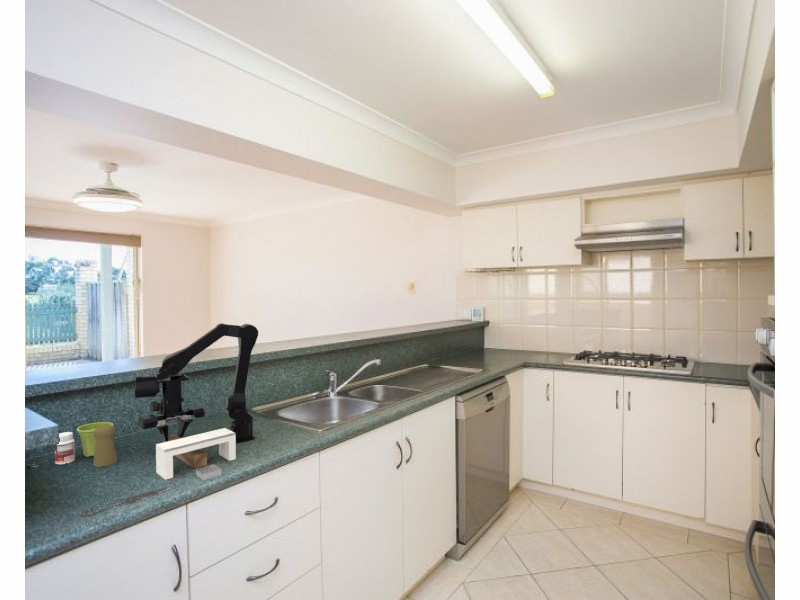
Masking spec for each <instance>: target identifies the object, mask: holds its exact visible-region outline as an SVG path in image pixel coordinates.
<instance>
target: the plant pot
mask: <svg viewBox="0 0 800 600" xmlns="http://www.w3.org/2000/svg"><path fill="white" fill-rule="evenodd" d="M105 425H111V426H113V427H114V423H112V422H109V421H103V422H92V423H87V424H83V425H81V426H78V427H77V428H76V431H77V432H78V434H79V436H80V440H81V441H80V443H81V447H82V453H83V456H84V457H87V458H88V457H94V454H95V447H96V438H95V436H94V431H95V430H96V428H98V427H100V426H105Z"/></svg>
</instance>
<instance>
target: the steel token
mask: <svg viewBox="0 0 800 600" xmlns="http://www.w3.org/2000/svg"><path fill="white" fill-rule="evenodd" d="M222 471H223V469H222V468H221V467H219V466H218V465H216V464H213V463H212V464H210V465H207V466H203V467H200V468H197V469H195V476H197V477H198V478H199V479H201V480H202V481H206V480H209V479H213V478H216V477H219V476H222V473H223V472H222Z"/></svg>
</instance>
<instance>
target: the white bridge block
mask: <svg viewBox="0 0 800 600" xmlns="http://www.w3.org/2000/svg"><path fill="white" fill-rule="evenodd" d="M236 443H237V442H236V435H235V432H233V431H230V429H228V428H226V427H223V428H219V429H214V430H210V431H207V432H202V433H198V434H194V435H190V436H185V437H182V438H180V439H176V440H172V441H168V442H164V443H163V442H159V443H156V444H155V472H156V474H158V476H160V477H162V479H164V481H165V480H168V479H172V478H174V457H175V456H174V455H178V454H182V453H186V452H189V451H193V450H197V449H204V448H208V447H211V446H216V445H218V455H219V456H220V457H222V458H224V459H226V460H227V461H234V460H236V459H237V455H236V454H237V453H236V452H237V451H236V450H237V448H236Z"/></svg>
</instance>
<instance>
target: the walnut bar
mask: <svg viewBox="0 0 800 600" xmlns="http://www.w3.org/2000/svg"><path fill="white" fill-rule="evenodd" d="M180 438H181V437H179V436H178V434H175V433H173V434H168V441H172V440H176V439H180ZM162 443H164V440H163V439H162ZM175 456H176V457H175ZM173 457H175V458H177V459H179V460H180V461H182V462H183V463H185V464H186V465H187V466H189V467H191V468H193V469H194V470H196V469H199V468H202V467H206V466H208V452H207V451H205V450H204V449H203V448H201V449H197V450H193V451H189V452H186V453H182V454H178V455H174V456H173Z"/></svg>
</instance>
